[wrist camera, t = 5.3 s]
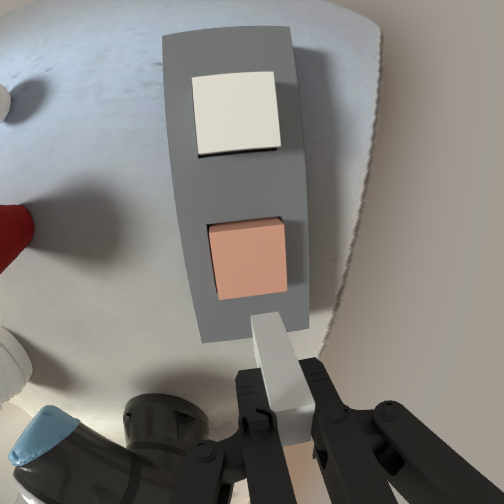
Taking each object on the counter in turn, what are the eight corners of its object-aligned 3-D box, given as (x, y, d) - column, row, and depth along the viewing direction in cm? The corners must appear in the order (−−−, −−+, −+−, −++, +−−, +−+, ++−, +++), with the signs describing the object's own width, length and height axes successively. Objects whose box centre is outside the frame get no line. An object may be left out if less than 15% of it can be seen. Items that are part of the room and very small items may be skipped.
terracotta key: (278, 274, 29) (287, 291, 26) (218, 281, 29) (218, 299, 25) (275, 215, 27) (284, 224, 23) (210, 222, 27) (208, 232, 23)
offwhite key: (271, 148, 24) (280, 146, 20) (202, 155, 24) (198, 153, 20) (265, 84, 22) (273, 71, 18) (196, 89, 21) (191, 77, 18)
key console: (297, 306, 34) (308, 328, 30) (203, 319, 33) (202, 343, 29) (279, 44, 24) (289, 26, 19) (170, 53, 23) (162, 35, 18)
